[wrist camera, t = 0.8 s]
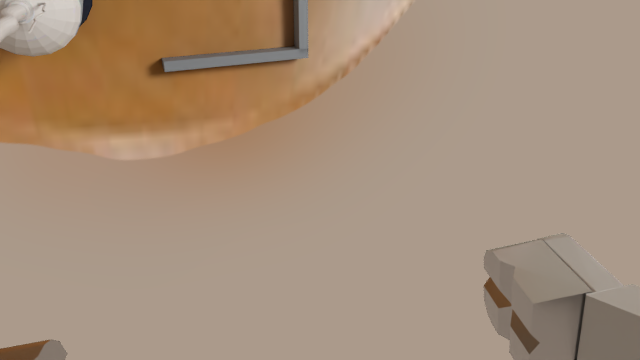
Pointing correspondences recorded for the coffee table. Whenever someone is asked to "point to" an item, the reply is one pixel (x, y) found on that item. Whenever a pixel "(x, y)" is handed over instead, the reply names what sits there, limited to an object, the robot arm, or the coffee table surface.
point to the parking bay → (250, 55)
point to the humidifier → (40, 24)
